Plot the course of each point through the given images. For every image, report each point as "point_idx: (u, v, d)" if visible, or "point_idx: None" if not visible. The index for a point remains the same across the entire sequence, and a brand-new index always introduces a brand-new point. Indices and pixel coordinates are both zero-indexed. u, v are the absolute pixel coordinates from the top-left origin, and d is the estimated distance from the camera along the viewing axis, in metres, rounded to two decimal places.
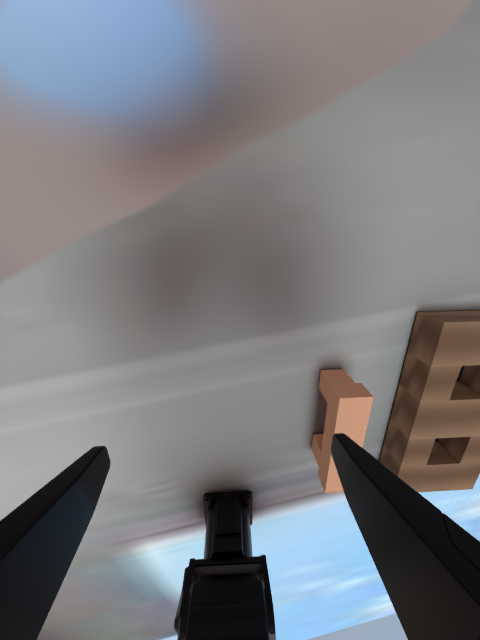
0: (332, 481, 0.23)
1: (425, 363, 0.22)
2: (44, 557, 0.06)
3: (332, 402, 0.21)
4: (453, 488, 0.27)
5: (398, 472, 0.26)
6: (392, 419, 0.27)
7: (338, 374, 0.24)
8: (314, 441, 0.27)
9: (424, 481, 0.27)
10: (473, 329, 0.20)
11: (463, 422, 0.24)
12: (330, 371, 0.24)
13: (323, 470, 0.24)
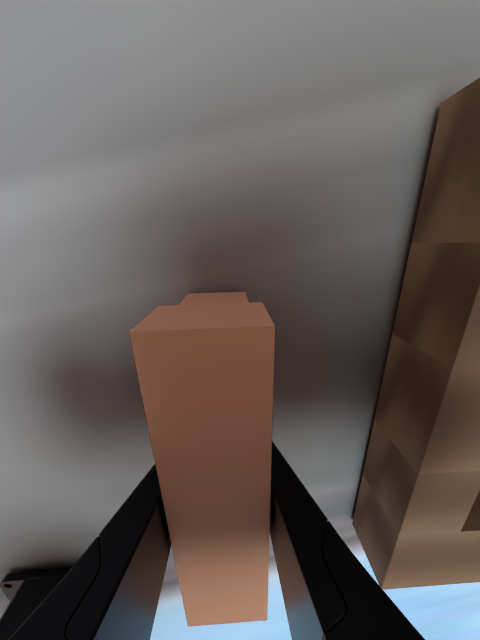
0: (200, 602, 0.08)
1: (470, 241, 0.07)
2: (152, 550, 0.06)
3: None
4: None
5: (394, 548, 0.11)
6: (378, 421, 0.12)
7: (222, 297, 0.09)
8: None
9: (453, 564, 0.12)
10: None
11: None
12: (208, 294, 0.09)
13: None
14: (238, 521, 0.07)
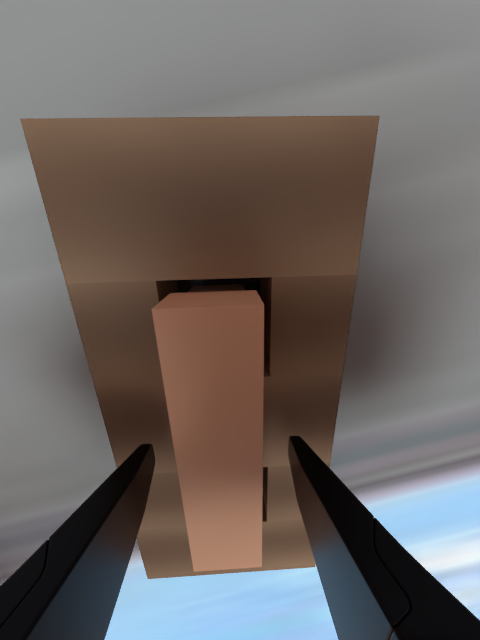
0: (204, 548, 0.09)
1: None
2: (109, 553, 0.06)
3: None
4: (274, 567, 0.13)
5: (137, 541, 0.12)
6: None
7: (223, 288, 0.10)
8: None
9: None
10: (133, 150, 0.06)
11: None
12: (211, 286, 0.10)
13: None
14: (236, 473, 0.08)
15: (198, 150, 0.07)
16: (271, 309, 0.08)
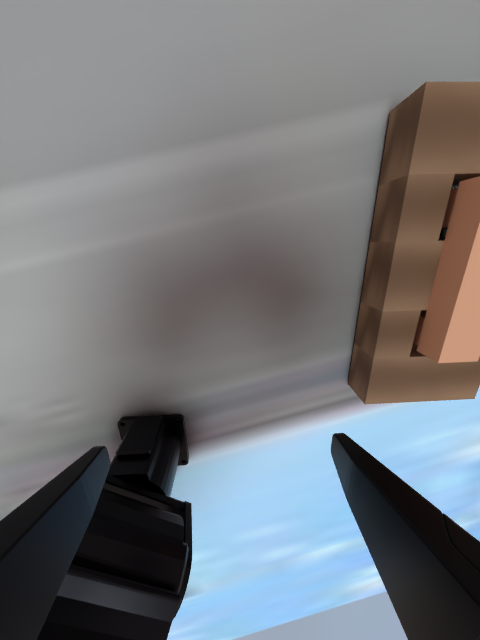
0: (452, 342, 0.16)
1: (401, 176, 0.15)
2: (44, 557, 0.06)
3: (466, 203, 0.14)
4: (448, 397, 0.20)
5: (371, 368, 0.19)
6: (363, 300, 0.19)
7: None
8: None
9: (407, 384, 0.19)
10: (472, 98, 0.13)
11: None
12: None
13: (433, 333, 0.17)
14: None
15: None
16: None
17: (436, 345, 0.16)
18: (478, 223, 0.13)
